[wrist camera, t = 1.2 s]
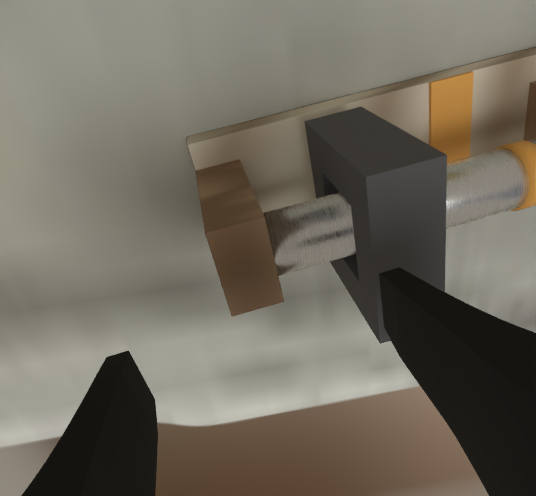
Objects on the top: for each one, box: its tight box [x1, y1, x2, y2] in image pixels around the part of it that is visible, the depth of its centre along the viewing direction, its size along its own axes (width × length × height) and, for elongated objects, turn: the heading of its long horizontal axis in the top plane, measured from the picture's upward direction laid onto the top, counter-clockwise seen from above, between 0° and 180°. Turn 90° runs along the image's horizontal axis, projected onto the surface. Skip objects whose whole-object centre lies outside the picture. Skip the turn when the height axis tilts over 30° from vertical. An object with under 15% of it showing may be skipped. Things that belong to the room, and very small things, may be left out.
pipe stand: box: [187, 47, 536, 316], centre depth 19 cm, size 18×6×7 cm, turn 102°
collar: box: [304, 107, 447, 344], centre depth 16 cm, size 2×6×6 cm, turn 12°
